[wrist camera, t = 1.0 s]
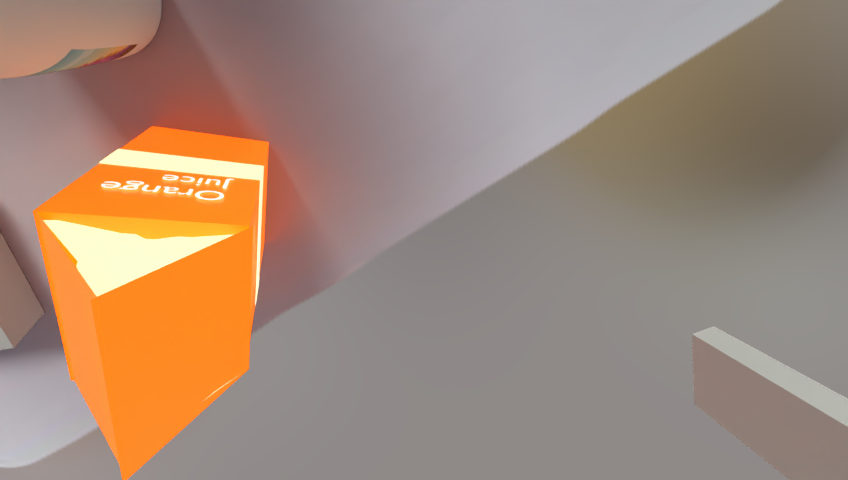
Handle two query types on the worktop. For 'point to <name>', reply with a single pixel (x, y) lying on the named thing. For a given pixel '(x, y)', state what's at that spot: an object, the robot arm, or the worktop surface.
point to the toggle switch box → (15, 300)
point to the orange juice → (157, 280)
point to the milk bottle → (72, 33)
